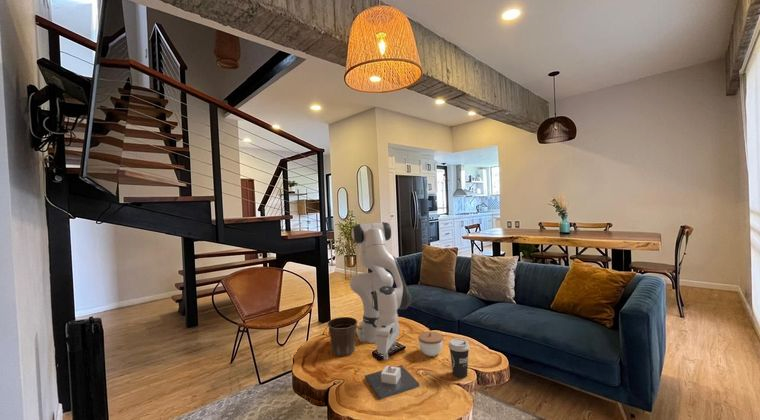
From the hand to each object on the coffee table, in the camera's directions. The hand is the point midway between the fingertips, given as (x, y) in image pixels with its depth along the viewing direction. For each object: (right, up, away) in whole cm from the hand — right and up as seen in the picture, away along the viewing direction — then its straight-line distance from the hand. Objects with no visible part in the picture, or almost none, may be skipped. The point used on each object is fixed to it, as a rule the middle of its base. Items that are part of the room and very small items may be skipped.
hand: (389, 353), depth 144 cm
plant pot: (-24, -13, +32) cm, 42 cm away
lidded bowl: (+22, -11, +25) cm, 35 cm away
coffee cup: (+33, -12, +4) cm, 35 cm away
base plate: (+1, -13, 0) cm, 13 cm away
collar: (+1, -12, 0) cm, 12 cm away
